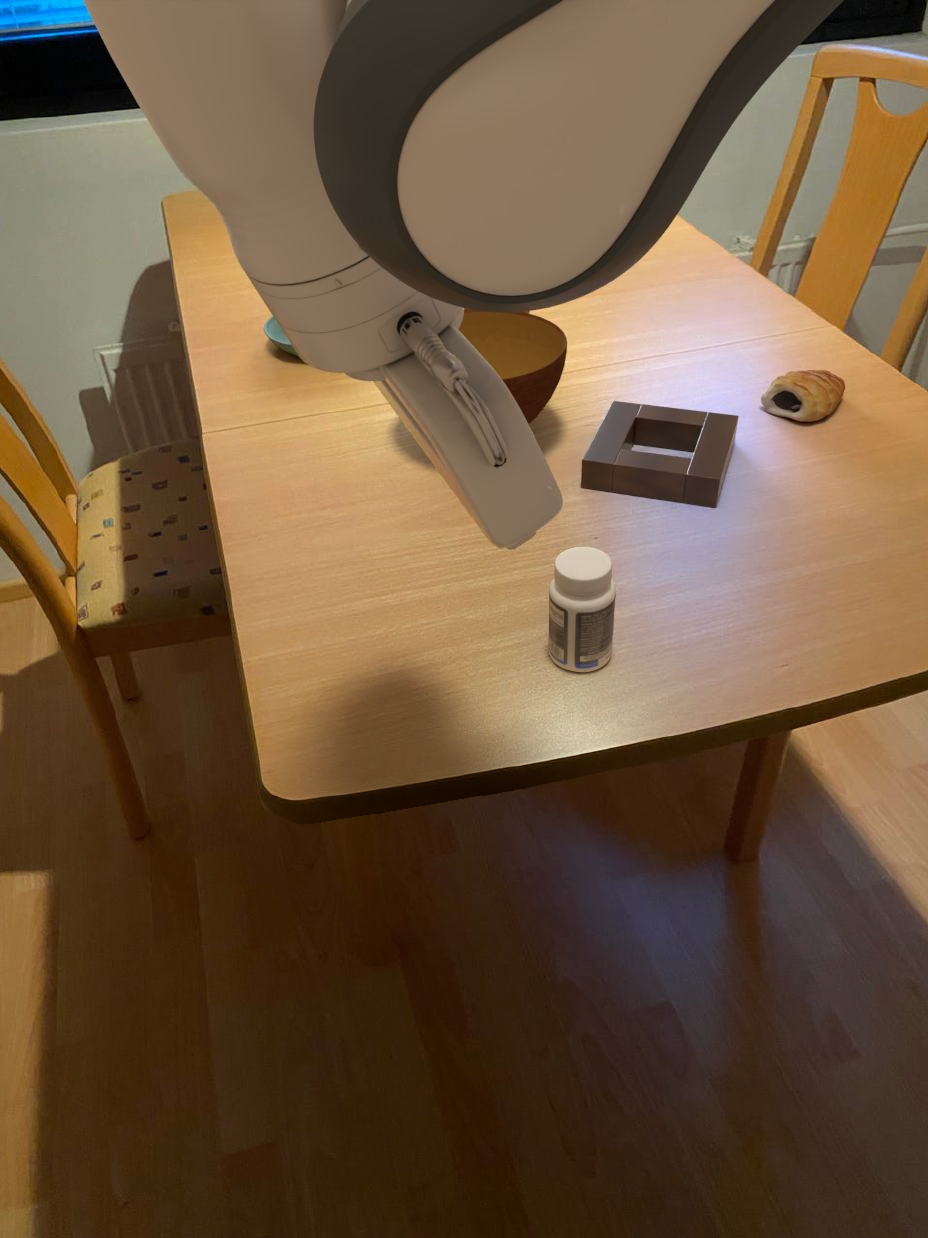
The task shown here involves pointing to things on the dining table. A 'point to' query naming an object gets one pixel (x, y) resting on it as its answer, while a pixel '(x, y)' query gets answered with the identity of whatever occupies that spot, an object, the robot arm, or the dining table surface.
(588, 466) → the dock
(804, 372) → the pastry
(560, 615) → the pill bottle
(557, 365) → the bowl
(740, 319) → the dining table surface
